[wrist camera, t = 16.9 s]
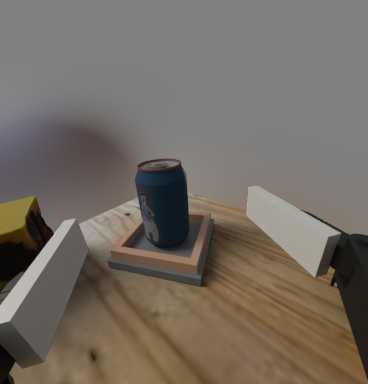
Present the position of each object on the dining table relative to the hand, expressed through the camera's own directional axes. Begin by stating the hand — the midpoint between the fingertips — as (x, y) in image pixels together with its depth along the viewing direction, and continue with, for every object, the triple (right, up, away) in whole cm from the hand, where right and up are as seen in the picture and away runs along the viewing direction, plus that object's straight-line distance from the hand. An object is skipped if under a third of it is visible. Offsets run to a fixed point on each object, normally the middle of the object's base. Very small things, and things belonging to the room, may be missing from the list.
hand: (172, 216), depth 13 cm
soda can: (-2, -5, +14) cm, 15 cm away
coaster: (-2, -6, +15) cm, 16 cm away
